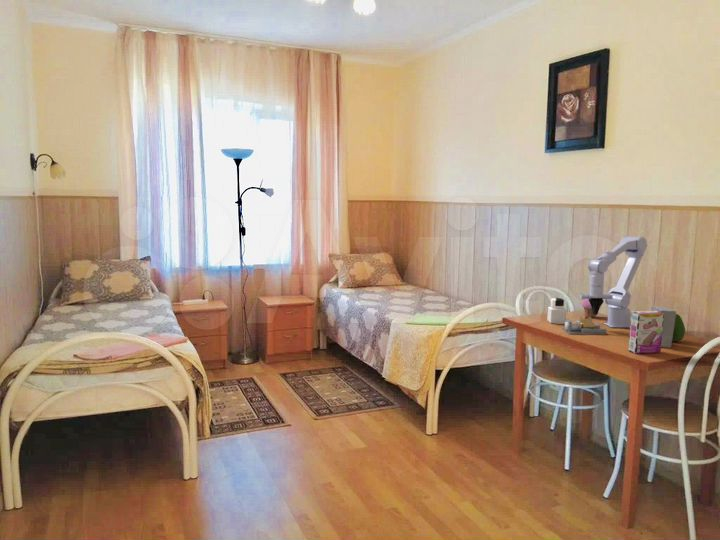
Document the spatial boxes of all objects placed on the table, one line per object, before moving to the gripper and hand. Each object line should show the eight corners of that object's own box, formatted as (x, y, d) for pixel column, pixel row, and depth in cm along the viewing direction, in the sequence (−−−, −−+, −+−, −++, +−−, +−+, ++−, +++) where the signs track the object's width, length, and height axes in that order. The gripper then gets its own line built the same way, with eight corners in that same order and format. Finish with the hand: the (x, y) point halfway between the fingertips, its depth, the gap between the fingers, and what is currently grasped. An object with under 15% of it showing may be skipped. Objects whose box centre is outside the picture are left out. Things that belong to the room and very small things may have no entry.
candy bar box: (635, 354, 214) (638, 313, 212) (627, 350, 219) (630, 310, 217) (661, 353, 216) (664, 312, 214) (653, 349, 221) (656, 310, 218)
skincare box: (646, 342, 232) (649, 305, 230) (663, 342, 232) (666, 305, 230) (656, 347, 224) (659, 309, 222) (674, 347, 224) (677, 310, 222)
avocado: (672, 338, 239) (674, 311, 237) (688, 342, 232) (690, 315, 230) (658, 339, 236) (660, 312, 235) (674, 344, 229) (676, 316, 227)
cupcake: (600, 319, 276) (602, 299, 275) (582, 318, 278) (583, 299, 277) (597, 315, 285) (598, 296, 284) (579, 314, 287) (580, 296, 286)
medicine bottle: (561, 320, 272) (563, 297, 271) (565, 324, 265) (567, 300, 264) (547, 320, 273) (548, 297, 271) (550, 323, 266) (551, 299, 264)
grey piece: (597, 329, 255) (598, 318, 254) (607, 334, 245) (607, 323, 244) (561, 329, 255) (562, 318, 254) (569, 334, 245) (570, 323, 245)
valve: (591, 329, 252) (592, 314, 251) (594, 331, 248) (595, 316, 247) (576, 329, 252) (577, 314, 251) (579, 331, 248) (580, 316, 247)
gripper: (608, 284, 257) (606, 312, 259) (577, 284, 257) (576, 312, 259) (615, 286, 250) (613, 315, 252) (584, 286, 250) (582, 315, 252)
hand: (595, 314), depth 255 cm, fingers closed
